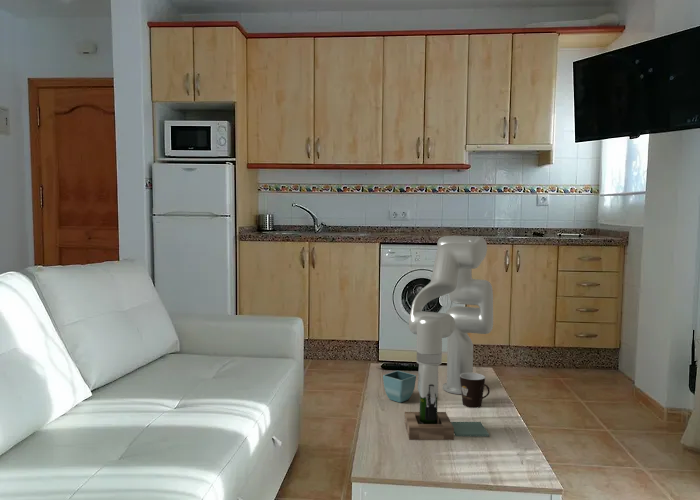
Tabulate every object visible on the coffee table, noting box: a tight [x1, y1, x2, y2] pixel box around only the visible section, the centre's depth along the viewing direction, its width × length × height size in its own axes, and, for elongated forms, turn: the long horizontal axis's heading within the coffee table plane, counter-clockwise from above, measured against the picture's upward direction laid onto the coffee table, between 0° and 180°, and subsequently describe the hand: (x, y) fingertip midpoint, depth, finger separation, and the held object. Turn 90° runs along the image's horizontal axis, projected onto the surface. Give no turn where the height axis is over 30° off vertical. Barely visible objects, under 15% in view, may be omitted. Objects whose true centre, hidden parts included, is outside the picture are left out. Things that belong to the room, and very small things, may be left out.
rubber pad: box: [451, 421, 490, 437], centre depth 162 cm, size 10×10×1 cm
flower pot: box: [382, 370, 417, 403], centre depth 189 cm, size 9×9×9 cm
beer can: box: [418, 395, 439, 424], centre depth 161 cm, size 5×5×12 cm
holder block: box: [403, 411, 455, 441], centre depth 161 cm, size 13×13×4 cm
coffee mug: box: [460, 372, 490, 409], centre depth 183 cm, size 12×9×10 cm
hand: (428, 414), depth 161 cm, fingers open, 8 cm apart
